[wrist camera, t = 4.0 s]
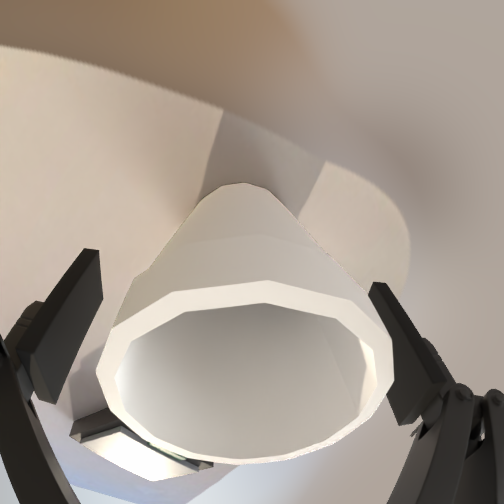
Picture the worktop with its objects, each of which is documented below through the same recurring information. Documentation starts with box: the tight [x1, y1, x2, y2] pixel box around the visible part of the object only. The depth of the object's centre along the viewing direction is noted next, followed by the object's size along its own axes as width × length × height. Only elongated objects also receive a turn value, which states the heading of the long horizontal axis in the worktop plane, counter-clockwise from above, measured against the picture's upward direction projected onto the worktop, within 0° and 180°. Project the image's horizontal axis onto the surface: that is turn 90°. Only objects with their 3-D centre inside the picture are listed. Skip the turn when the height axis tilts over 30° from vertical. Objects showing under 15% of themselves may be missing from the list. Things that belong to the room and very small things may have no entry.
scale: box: [69, 408, 214, 481], centre depth 32 cm, size 14×12×3 cm
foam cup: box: [95, 183, 394, 465], centre depth 15 cm, size 10×9×13 cm
